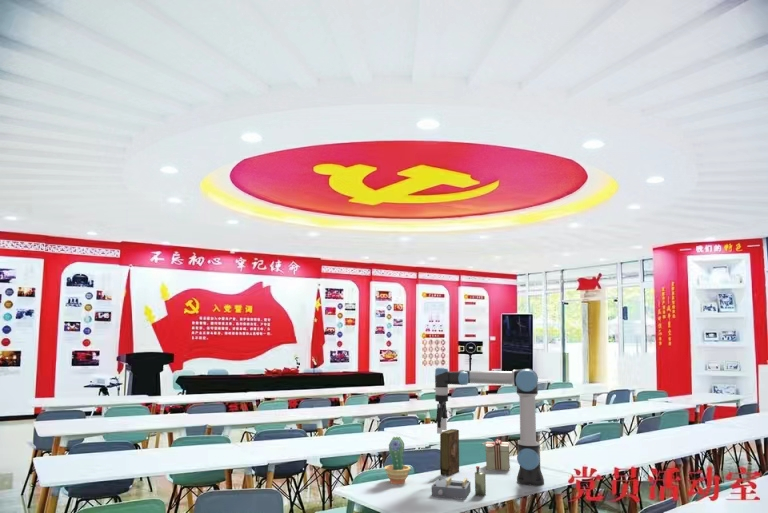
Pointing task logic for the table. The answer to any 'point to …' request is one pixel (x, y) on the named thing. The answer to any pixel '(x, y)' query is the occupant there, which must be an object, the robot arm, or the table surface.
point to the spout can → (480, 483)
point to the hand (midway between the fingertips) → (441, 431)
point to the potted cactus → (397, 462)
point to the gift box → (497, 455)
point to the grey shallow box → (451, 488)
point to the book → (449, 452)
